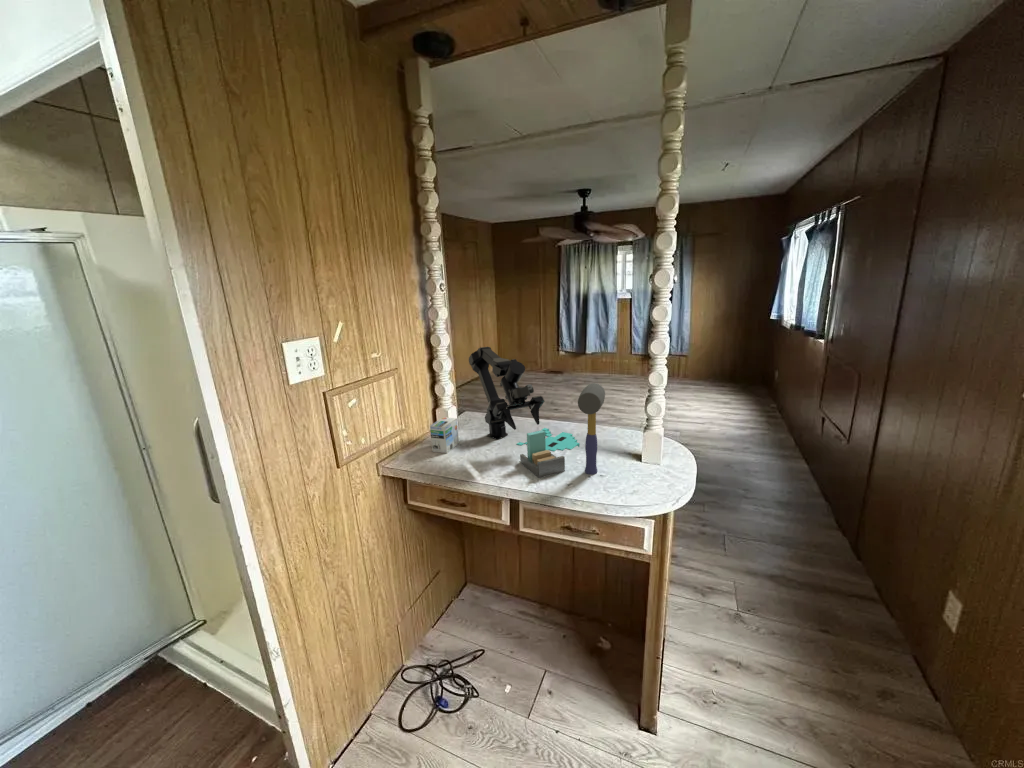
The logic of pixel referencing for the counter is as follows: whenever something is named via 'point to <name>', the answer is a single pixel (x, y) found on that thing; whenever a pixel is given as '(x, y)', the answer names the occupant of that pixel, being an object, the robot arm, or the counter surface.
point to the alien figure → (558, 441)
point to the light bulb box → (444, 434)
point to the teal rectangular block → (535, 443)
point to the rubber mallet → (591, 421)
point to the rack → (544, 466)
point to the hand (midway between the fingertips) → (527, 426)
